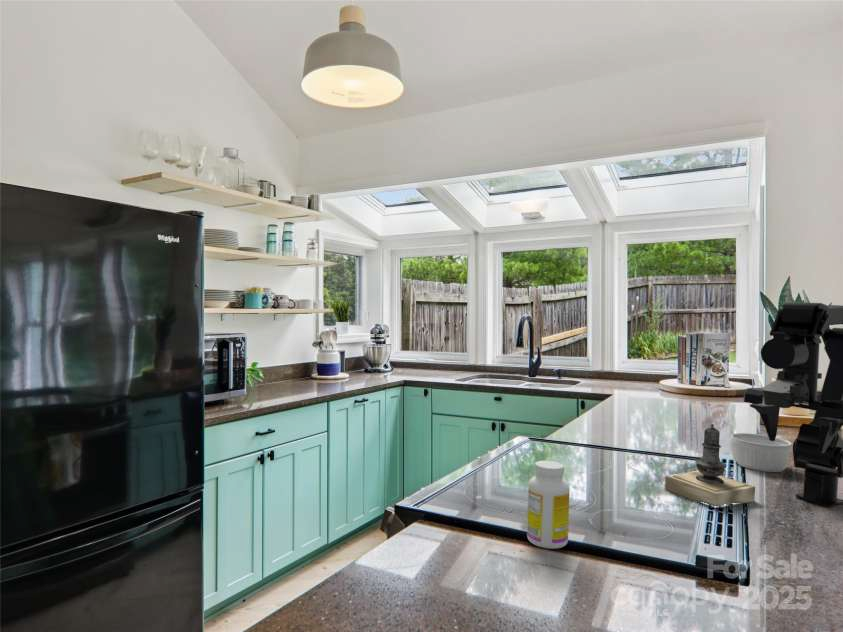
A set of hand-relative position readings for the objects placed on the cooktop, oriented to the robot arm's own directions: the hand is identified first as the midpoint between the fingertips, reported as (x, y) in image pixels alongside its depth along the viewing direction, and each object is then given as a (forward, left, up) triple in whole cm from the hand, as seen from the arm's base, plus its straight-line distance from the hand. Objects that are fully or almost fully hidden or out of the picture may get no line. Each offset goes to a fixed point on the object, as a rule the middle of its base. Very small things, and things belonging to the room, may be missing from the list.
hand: (796, 446), depth 108 cm
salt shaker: (+7, -13, -10) cm, 18 cm away
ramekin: (-26, -23, -13) cm, 37 cm away
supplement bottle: (+54, -8, -13) cm, 56 cm away
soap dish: (+7, -13, -13) cm, 20 cm away
